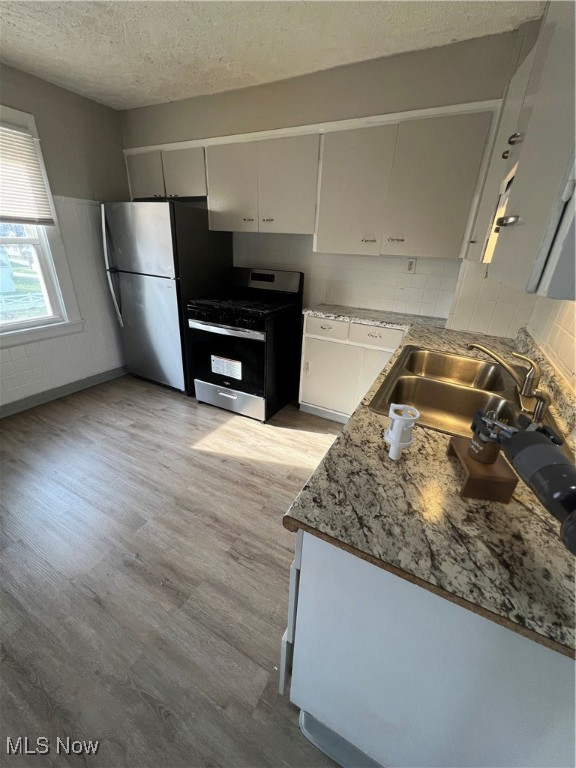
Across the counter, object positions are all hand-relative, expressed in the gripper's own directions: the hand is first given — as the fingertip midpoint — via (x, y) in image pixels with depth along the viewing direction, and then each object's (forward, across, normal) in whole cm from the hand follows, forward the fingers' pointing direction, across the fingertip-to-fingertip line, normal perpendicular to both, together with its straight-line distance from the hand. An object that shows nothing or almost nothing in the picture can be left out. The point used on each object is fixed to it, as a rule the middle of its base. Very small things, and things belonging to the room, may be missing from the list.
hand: (498, 415), depth 68 cm
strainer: (+6, +18, +19) cm, 26 cm away
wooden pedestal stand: (+1, 0, +18) cm, 18 cm away
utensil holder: (0, 0, +12) cm, 12 cm away
